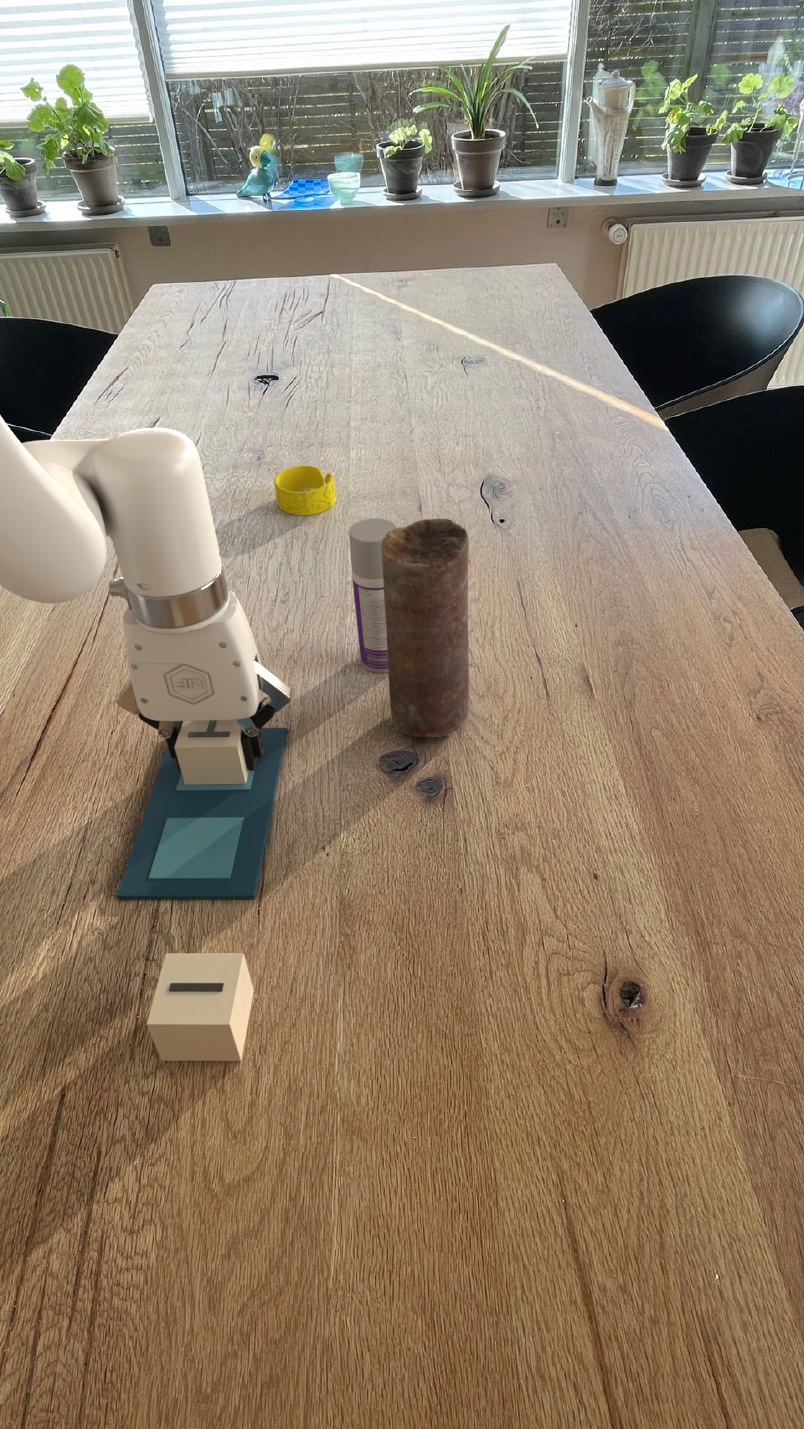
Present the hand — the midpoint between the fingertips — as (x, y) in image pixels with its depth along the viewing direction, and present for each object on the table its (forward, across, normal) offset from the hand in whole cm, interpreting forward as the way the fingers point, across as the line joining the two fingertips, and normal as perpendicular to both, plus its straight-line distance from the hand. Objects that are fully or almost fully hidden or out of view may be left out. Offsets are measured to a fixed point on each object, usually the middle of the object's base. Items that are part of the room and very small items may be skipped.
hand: (220, 759), depth 86 cm
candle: (+1, +19, +6) cm, 20 cm away
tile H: (0, 0, 0) cm, 0 cm away
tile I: (+1, +4, -26) cm, 26 cm away
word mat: (+1, 0, -5) cm, 5 cm away
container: (+1, +14, +16) cm, 21 cm away
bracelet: (+1, +2, +51) cm, 51 cm away
